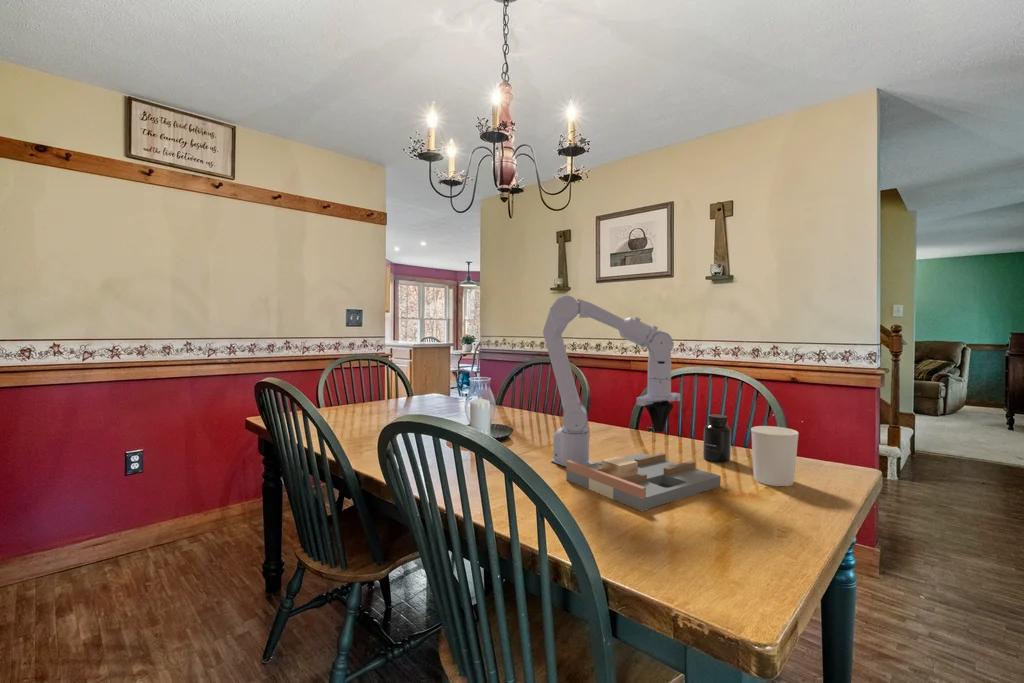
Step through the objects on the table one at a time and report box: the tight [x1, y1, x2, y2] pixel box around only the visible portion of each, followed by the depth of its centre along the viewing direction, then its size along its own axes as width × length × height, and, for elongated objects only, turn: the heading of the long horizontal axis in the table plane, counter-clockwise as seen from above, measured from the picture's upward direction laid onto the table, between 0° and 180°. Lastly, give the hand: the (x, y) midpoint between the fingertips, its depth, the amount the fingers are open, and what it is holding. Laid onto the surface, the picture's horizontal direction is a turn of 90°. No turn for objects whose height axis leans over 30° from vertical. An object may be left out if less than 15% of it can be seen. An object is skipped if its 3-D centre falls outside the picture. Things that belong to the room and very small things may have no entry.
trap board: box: [565, 452, 722, 512], centre depth 112 cm, size 23×26×4 cm
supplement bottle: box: [702, 414, 732, 464], centre depth 131 cm, size 7×7×12 cm
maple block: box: [601, 455, 638, 479], centre depth 107 cm, size 6×6×4 cm
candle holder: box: [750, 425, 800, 487], centre depth 113 cm, size 10×10×12 cm
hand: (658, 431), depth 123 cm, fingers closed
